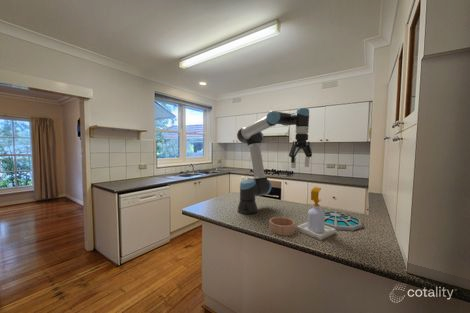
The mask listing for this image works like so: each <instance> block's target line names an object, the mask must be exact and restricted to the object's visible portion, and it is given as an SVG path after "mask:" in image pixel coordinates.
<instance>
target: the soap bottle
mask: <svg viewBox="0 0 470 313" xmlns="http://www.w3.org/2000/svg"><path fill="white" fill-rule="evenodd" d="M321 190H322V187H318V186H315V187H313V188H312V189H311V191H310V201H313V202H314V204H313V205H312V208H310V209H309V210H308V211H307V229H308V230H310V231H312V232H314V233H323V232H324V221H325V214H324V212H323V211H324V210H322V209H320V204H319V203H320V202H321V201H322V199H320V198H319V193H320V191H321Z"/></svg>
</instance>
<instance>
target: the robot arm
mask: <svg viewBox="0 0 470 313" xmlns="http://www.w3.org/2000/svg"><path fill="white" fill-rule="evenodd" d="M309 122H310V109H309V108H305V107H300V108H296V111H295V112H293V113H288V112H281V111H276V110H270V111H269V112H267V114H266V116H264V117H262V118H261V119H259V120H257V121H255V122H254V123H251V124H249V125H247V126H243V127H241V128H239V130H238V131H237V133H236V135H237V139H238V141H239V142H240V143H241V144H247V147H248V148H249V151H250V158H251V164H252V171H253V178H252V179H244V180H242V181H240V183H239V202H238V205H237V212H238V213H239V212H240V213H239V214H242V213H243V214H244V215H253V214H254V215H255V214H257V213H258V209H259V208H258V206H257V202H256V197H258V196H265V195H268V194H269V193H270V192H271V190H272V182H271V181H270V180H269V179H268V177H267V175H265V169H264V162H263V158H262V156H263V155H262V150H261V146H262V144H263V141H264V134H263V131H265V130H267V129H270V128H272V127H274V126H276V125H282V126H286V127H287V126H288V127H289V126H295V140H294V141H292V145H291V148H290V150H289V152H288V153H289V154H288V156H289V158H291V159H290V163H291V165H290V167H291V169H296V168H297V166H296V164H297V157H296V156H297V155H298V153H299V151H300V150H302V151H303V153H304V155H305V156H304V167H306V168H310V158H311V157H312V156H313V154H312V149H311V145H310V144H311V143H310V141H308V140H309V127H310V126H309Z"/></svg>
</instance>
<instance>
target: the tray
mask: <svg viewBox="0 0 470 313" xmlns="http://www.w3.org/2000/svg"><path fill="white" fill-rule="evenodd" d="M296 231H297V232H300V233H302V234H304V235H306V236H308V237H311V238H314V239H315V240H318V241H319V242H320V241H323V240H325V239H326V238H329V237H330V236H333V235H335V234H336V230H335V229H334V228H331V227H328V226H325V225H324V232H323V233H314V232H312V231H310V230H308V229H307V222H304V223H302V224H299V225H296Z"/></svg>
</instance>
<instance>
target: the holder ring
mask: <svg viewBox="0 0 470 313" xmlns="http://www.w3.org/2000/svg"><path fill="white" fill-rule="evenodd" d="M268 221H269V222H268V223H269V224H268V225H269V226H268V229H269V230H270V232H271V233H273V234H275V235H281V236H290V235H292V234H295V231H296V229H295V228H296V226H295V224H296V222H295V221H294V220H293V219H291V218H290V217H289V218H288V217H285V216H274V217H271V218H270V219H269V220H268Z"/></svg>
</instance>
